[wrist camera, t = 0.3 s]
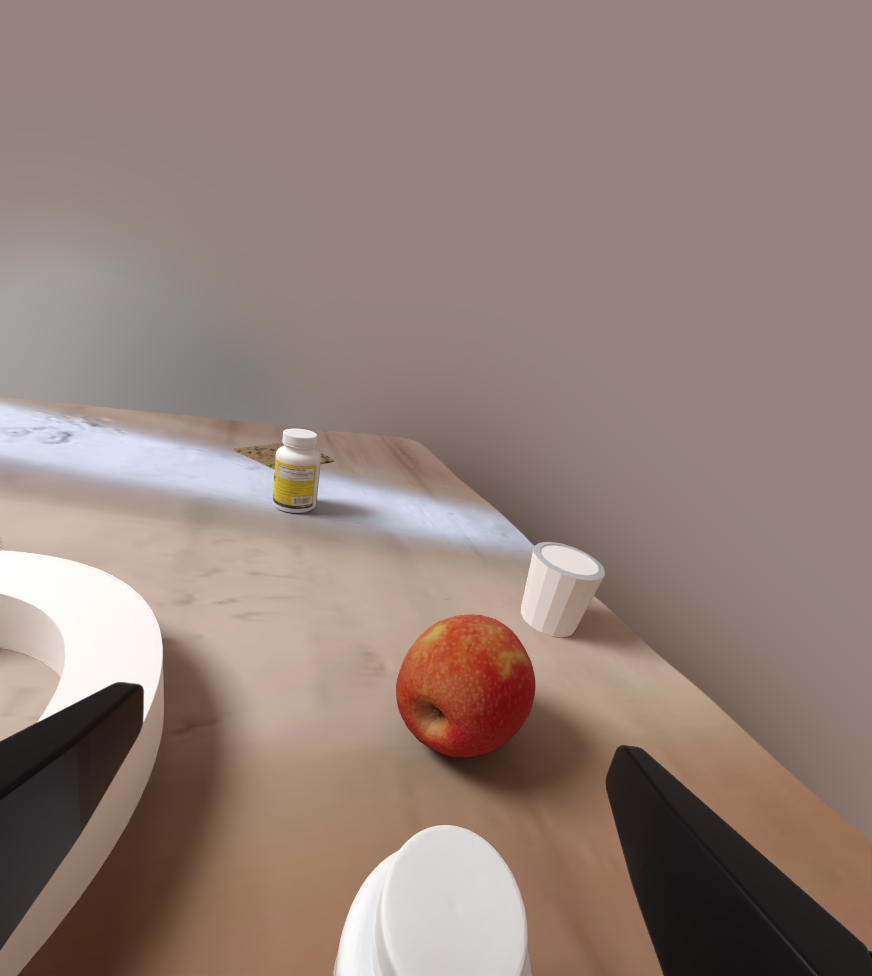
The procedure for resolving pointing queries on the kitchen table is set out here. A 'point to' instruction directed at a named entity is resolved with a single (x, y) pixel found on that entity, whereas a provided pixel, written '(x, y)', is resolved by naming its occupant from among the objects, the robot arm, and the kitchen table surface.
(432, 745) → the apple
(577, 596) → the white cup
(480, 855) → the supplement bottle
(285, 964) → the kitchen table surface
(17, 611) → the white circle with bar
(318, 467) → the supplement bottle
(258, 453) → the cookie
